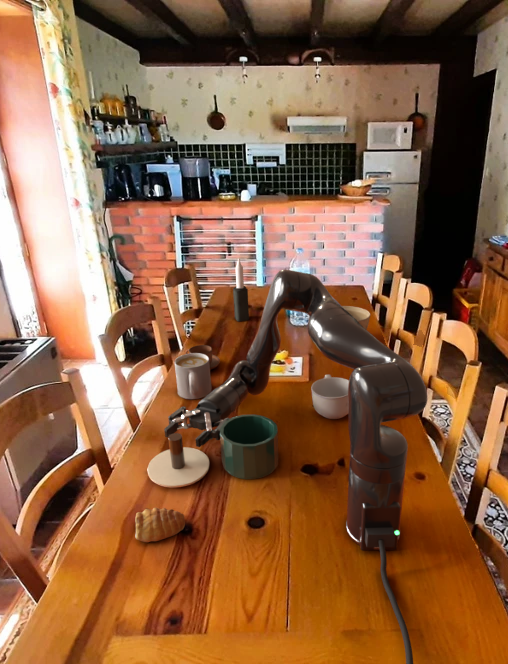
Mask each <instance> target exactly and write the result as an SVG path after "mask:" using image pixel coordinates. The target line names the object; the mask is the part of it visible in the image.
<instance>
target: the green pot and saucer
mask: <svg viewBox="0 0 508 664" xmlns="http://www.w3.org/2000/svg"><path fill="white" fill-rule="evenodd" d="M189 353H200V354H204V355H206V356H208V357H209V365H210V371H211V370H214V369H216V368H217V367H218V366H219V365H220V363H221V359H220V358H219V356H217V355H214V354H213V349H212V347H211V346H210V345H206V344H198V345H194V346H191V347H190V348H188V349H185V354H189Z"/></svg>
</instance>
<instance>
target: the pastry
mask: <svg viewBox="0 0 508 664" xmlns="http://www.w3.org/2000/svg"><path fill="white" fill-rule="evenodd" d="M134 521H135V535H134V536H135V539H136V540H138V541H141V542H144V543H149V542H158V541H161V540H164V539H168V538H170V537H172V536H173V537H174V536H175V535H177V534H179V533H180V532H181V531H183V530H184V528H185V526H186V521H185V514H184V513H182V512H181V511H178V510H174V509H172V508H171V509H167V508H166V507H163V508H159V507H153V508H152V509H151V508H145V509H144V510H143V511H142V512H141V511H140V512H139V511H138V512H136V514H135V520H134Z"/></svg>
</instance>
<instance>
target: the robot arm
mask: <svg viewBox="0 0 508 664" xmlns="http://www.w3.org/2000/svg"><path fill="white" fill-rule="evenodd" d="M342 306H343V305H341V304H340V302H338V301H337V299H336V298H334V297H333V296H332V295H331V293H330V292H329V291H328V289H327V288H326V286H325V285H324V284H323V282H322V281H321V279H319V278H318V277H317V276H316V275H314V274H311V273H307V272H303V271H296V270H292V269H281V270H279V271H278V272H277V273H276V274H275V276H274V277H273V279H272V281H271V285H270V287H269V289H268V293H267V296H266V300H265V303H264V307H263V311H262V314H261V318H260V322H259V325H258V328H257V330H256V331H257V332H256V334H255V336H254V338H253V341H252V343H251V344H250V346H249V348H248V351H247V353H246V358H245V359H246V360H245V359H243V360H239V361H238V362H236V363H235V365H234V366H233V368H232V369H231V372H230V374H229V376H228V377H227V379H226V380H225V381H224V382H223V383H221V385H219V386H218V387H216V388H214V389H212V390H211V392H210V393H209V394H208V395H207V396H205V397H202V398H201V400H200V401H198V403H197V405H196V407H195V408H194V409H191V410H188V409H187V407H186V406H181V407H179V408H178V409H176V410H175V411H174V412H172V413H171V414H170V415H168V416H167V418H168V425H167V426H165V427H164V437H165V438H167V439H168V437H169V435H171V434H173V433H177V431H178V430H182V429H184V430H189V429H198V430H199V431H202V432H201V433H200V434H199V435H197V437H196V438H195V447H197V448H201V447H203V446H204V445H206V443H208V442H209V441H211V440H213V439H215V441H220V427H221V426H222V425H223V424H224V422H225V421H227V420H229V419H231V417H230V416H231V415H232V414H233V413H234V412H235V411H236V410H237V408H238V407H239V406H241V404H242V403H244V401H245V400H246V399H247V398H248V396H249V395H252V396H259V395H261V394H263V393H264V392H265V390H266V389H267V388H268V385H269V382H270V374H271V367H272V364H273V362H274V360H275V358H276V357H277V354H278V352H279V350H280V348H281V345H282V344H281V343H282V336H281V332H280V329H279V326H278V316H279V314H280V312H281V311H282V310H286V311H292V312H298V313H303V314H307V315H308V316H309V318H308V322H307V334H308V336H309V338H310V340H311V341H312V343H313V344H314V345H315V347H316V348H317V349H318V350H319V352H320V353H321V354H322V355H323V356H324V357H326V358H327V359H329V360H330V361H331V362H334V363H337V364H339V365H342V366H344V367H347V368H349V369H352V371H351V373H350V375H349V379H348V380H349V383H348V413H349V414H348V424H347V425H348V436H349V464H348V484H347V485H348V487H347V507H346V511H347V512H346V522H345V530H346V534H347V536H348V537H349V539H350V540H351V541H352V542H354V543H355V544H357V545H358V546H359V548H360V550H361V551H379V554H380V576H381V580H382V584H383V587H384V590H385V592H386V594H387V597H388V599H389V601H390V604H391V607H392V610H393V613H394V615H395V617H396V620H397V623H398V625H399V629H400V632H401V636H402V640H403V645H404V653H405V664H414V655H413V647H412V642H411V637H410V634H409V630H408V626H407V623H406V622H405V618H404V617H403V613H402V611H401V609H400V606H399V604H398V601H397V598H396V596H395V594H394V591H393V589H392V586H391V584H390V581H389V579H388V573H387V568H388V567H387V565H388V563H387V562H388V561H387V552H386V551H396V550H397V549H398V542H399V540H400V538H401V537H400V536H401V523H402V522H401V520H402V509H403V500H404V490H405V489H404V488H405V480H406V479H405V478H406V470H407V459H408V452H409V451H408V450H409V445H408V441H407V439H406V437H405V435H403V434H402V433H401V432H400V431H398V430H397V429H396V428H394V427H392V426H389V425H385V424H382V423H388V422H393V421H398V420H404V419H408V418H411V417H415V416H417V415H419V414H421V413H422V412H423V411H424V409H426V406H427V403H428V389H427V386H426V383H425V381H424V380H423V378H422V375H421V374H420V372H419V371H418V370H417V369H416V368H415V367H414V365H412V364H411V363H410V362H409V361H408V360H407V359H405V358H404V357H402V356H401V355H399V354H398V353H397V352H395V351H393V349H391V348H389V347H388V346H386V345H385V344H384V343H383V342H381V341H380V340H379V339H378V338H376V337H375V336H374V335H373V334H372V333H371V332H370V331H368V330H366V329H365V328H364V327H363V326H362V325H361V324H360V323H359V322H358V321H357V320H356V319H355V318H354V317H353V316H352V315H351V314H350V313H349V312H348V311H347V310H346V309H344V308H343V307H342ZM187 420H188V421H187ZM181 422H182V423H181ZM179 423H180V424H179ZM213 428H215V429H213Z"/></svg>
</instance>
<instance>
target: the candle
mask: <svg viewBox="0 0 508 664" xmlns="http://www.w3.org/2000/svg"><path fill="white" fill-rule="evenodd" d="M240 260H241V259H240V258H237V263H236V266H235V283H236V285H235V286H234V287H233V288H232V296H233V311H234V312H233V313H234V319H235V320H236V321H237V322H246V321H249V320H250V307H249V290H248V288H247V286H246V285H245V284H244V283H245V280H244V266H243V265H242V263H241V261H240Z"/></svg>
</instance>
